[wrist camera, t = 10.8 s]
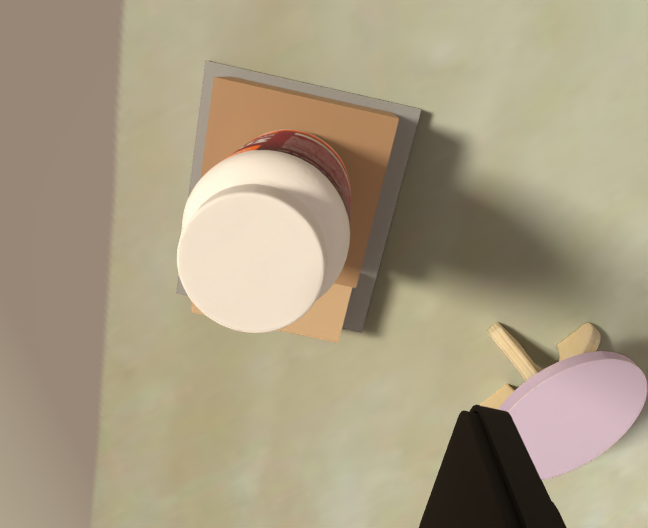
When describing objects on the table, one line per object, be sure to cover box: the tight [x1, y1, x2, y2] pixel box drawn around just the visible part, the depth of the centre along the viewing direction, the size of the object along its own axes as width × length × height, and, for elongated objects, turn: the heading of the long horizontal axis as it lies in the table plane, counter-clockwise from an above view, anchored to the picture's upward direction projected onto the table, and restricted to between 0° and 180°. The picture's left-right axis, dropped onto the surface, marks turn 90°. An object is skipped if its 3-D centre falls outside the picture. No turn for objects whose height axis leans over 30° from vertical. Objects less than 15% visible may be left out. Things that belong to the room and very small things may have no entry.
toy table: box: [480, 323, 648, 480], centre depth 32 cm, size 10×9×6 cm
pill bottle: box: [177, 129, 351, 333], centre depth 21 cm, size 6×6×11 cm
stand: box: [176, 61, 421, 343], centre depth 29 cm, size 14×12×5 cm
